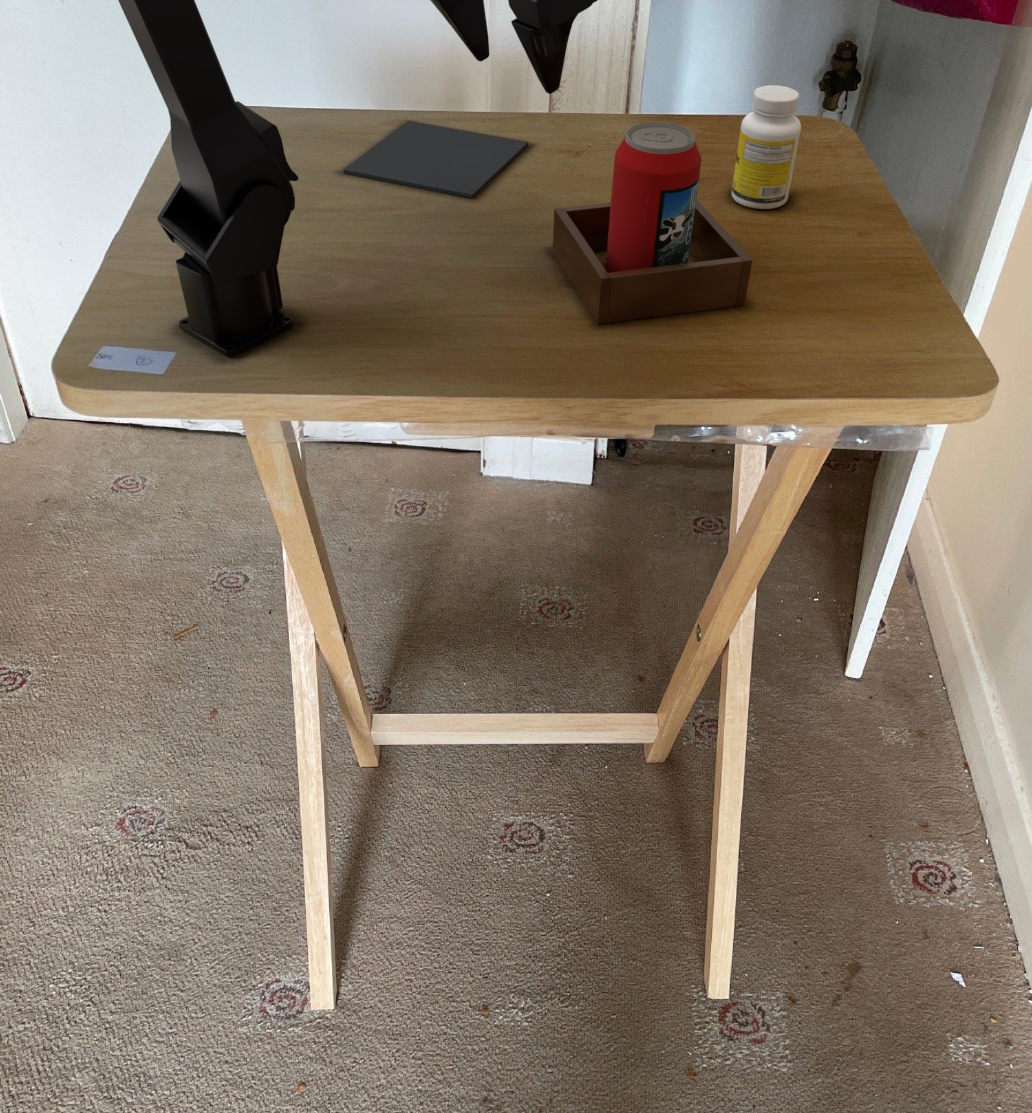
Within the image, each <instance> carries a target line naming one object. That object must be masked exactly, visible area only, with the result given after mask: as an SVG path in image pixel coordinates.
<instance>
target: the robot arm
mask: <svg viewBox="0 0 1032 1113" xmlns="http://www.w3.org/2000/svg"><path fill="white" fill-rule="evenodd" d="M117 1H118V3H119V6H120V8H121V10H122V12H123V14H124V17H125V18H126V21H127V23H128V25H129V27H130V29H131V33H132V34H133V37H134V39H135V40H136V42H137V45H138V47H139V49H140V51H141V53H142V55H143V58H144V60H145V62H146V64H147V67H148V69H149V71H150V73H151V75H152V77H153V79H154V83H155V84H156V87H157V88H158V90H159V91H158V92H159V93H160V95H161V97H162V99H163V101H164V104H165V106H166V108H167V112H168V115H169V120H170V121H169V122H170V144H171V145H170V146H171V152H172V156H173V159H174V162H175V166H176V170H177V174H178V177H179V181H178V183H177V185H176V186H175V187H174V189H173V191H172V193H171V195H170V196H169V197H168V199H167V201H166V203H165V204H164V206H163V208H162V209H161V211H160V212H159V214H158V216H157V217H156V218H157V220H156V221H157V223H158V224H159V226H160V227H161V229H162V230H163V232H164V233H165V235H166V236H167V238H168V239H169V240H170V241H171V242H172V243H173V244H175V245H177V246H178V247H179V248H180V249H181V250H183V251H184V253H183V256H181V258H180V257H179V258H178V259H176V260H175V265H176V270H177V273H178V278H179V282H180V283H179V284H180V286H181V291H182V295H183V299H184V304H185V308H186V314H187V316H186V317H184V318H183V319H181V320H179V321H178V326H179V329H180V330H182V331H183V332H185V333H186V334H188V335H190V336H192V337H194V338H195V339H197V340H199V341H200V342H202V343H203V344H206V345H207V346H209V347H211V348H212V349H214V350H216V351H218V352H219V353H221V354H222V355H224V356H227V357H232V356H235V355H237V354H239V353H242V352H243V351H245V350H247V349H249V348H251V347H253V346H255V345H257V344H260V343H261V342H264V341H265V340H267V339H269V338H271V337H273V336H275V335H277V334H280V333H281V332H283V331H285V330H287V329H289V328H291V327H293V326H294V324H295V323H294V322H295V321H294V318H293V316H291V315H288V314H287V313H285V312H283V311H281V310H282V309H283V308H284V302H283V296H282V290H281V284H280V277H279V276H280V275H279V271H278V264H279V260H280V253H281V250H282V249H281V247H282V244H283V237H284V232H285V226H286V225H287V223H288V222H289V220H290V217H291V214H292V212H294V210H295V208H296V197H295V192H294V187H293V185H292V183H291V182H297V181H298V180H299V176H298V175H297V173H295V171H294V170H293V169H292V167H291V166H290V165H289V162H288V161H287V157H286V154H285V149H284V143H283V140H282V135H281V133H280V131H279V129H278V126H277V125H275V124H274V123H272V122H271V121H270V120H268V119H267V118H265V117H264V116H262V115H260V114H258V113H257V112H256V111H255V110H253V109H252V108H250V107H248V106H247V105H245V104H244V103H242V102H240V101H239V100H235V98H234V95H233V92H232V90H231V87H230V85H229V83H228V80H227V77H226V75H225V72H224V70H223V68H222V66H221V63H220V60H219V58H218V55H217V53H216V50H215V47H214V45H213V43H212V40H211V38H210V36H209V33H208V30H207V28H206V25H205V23H204V20H203V18H202V16H201V13H200V11H199V8H198V5H197V3H196V1H195V0H117ZM429 1H430V2H431V3H432V5H433V6H434V7H435V8H436V9H437V10H438V12H439V13H440V14H441V16H443V18H444V19H445V21H446V22H447V23H448V24H449V26H450V27H451V28H452V29H453V31H454V32H455V33H456V35H457V36H458V37H459V39H460V40H461V41H462V43H463V44H464V45H465V47H466V48H467V49H468V51H469V52H470V53H471V54H472V56H473V57H474V58H475V60H476V61H477V62H481V63H482V62H484V61H485V60H486V59H488V58H489V57H490V42H489V41H490V40H489V31H488V24H487V15H486V8H485V1H484V0H429ZM507 1H508V6H509V8H510V10H511V11H512V13H513V14H514V16H515V18H514V19H512V20H511V21H510V23H511V25H512V28H513V30H514V32H515V33H516V36H517V38H518V40H519V42H520V44H521V46H522V48H523V50H524V52H525V54H526V56H527V58H528V60H529V62H530V64H531V66H532V68H533V71H534V73H535V76H536V77H537V79H538V81H539V82H540V84H541V86H542V88H543V90H544V91H545V93H546V94H548V95H551V94H553V93H554V92H556V91H558V90H559V89H560V87H561V82H562V77H563V71H564V64H565V59H566V53H567V48H568V43H569V39H570V34H571V32H572V28H573V24H574V22H575V20H576V18H577V17H578V16H579V14H580V13H582V12H584V11H586V10H588V9H589V8H590V7H591V6H592V5H593V4H594V3H596V2H598V1H599V0H507Z"/></svg>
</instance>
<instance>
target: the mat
mask: <svg viewBox="0 0 1032 1113" xmlns="http://www.w3.org/2000/svg"><path fill="white" fill-rule="evenodd" d="M528 146H529V141H526V140H520V139H514V138H510V137H509V138H508V137H503V136H497V135H492V134H486V133H482V132H481V133H480V132H475V131H469V130H463V129H458V128H452V127H447V126H443V125H442V126H441V125H436V124H432V123H431V124H430V123H425V122H420V121H414V120H407V121H405V122H404V123H403V124H401V126H399V127H398V128H396V129H395V130H394V131H392V132H391V133H390V134H388V135H387V136H386V137H384V138H382V140H380V141H379V142H378V143H377V144H375V145H373V146H372V147H371V148H369V149H368V150H367V151H366V152H364V153H363V154H362V155H360V156H359V157H357V159H355V160H353V161H352V162H351V163H350V164H348V165H347V166H346V167H345V168H343V169H342V170H343V171H342V172H343V174H345V175H352V176H357V177H362V178H367V179H372V180H377V181H382V182H387V183H392V184H398V185H403V186H407V187H413V188H417V189H423V190H428V191H433V192H437V193H441V194H442V193H443V194H447V195H453V196H457V197H462V198H469V199H474V198H475V197H476V196H477V195H478V194H479V193H480V192H481V191H482V190H483V189H484V188H486V186H488V184H490V183H491V182H492V181H493V180H494V179H495V178H496V177H497V176H498V175H499V174H500V173H501V172H502V171H503V170H504V169H505V168H506V167H507V166H508V165H509V164H510V163H512V162H513V161H514V160H515V159H516V158H517V157H518V156H519V155H521V153H522V152H523V151H524V150H526V149H527V147H528Z"/></svg>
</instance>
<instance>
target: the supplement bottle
mask: <svg viewBox="0 0 1032 1113" xmlns="http://www.w3.org/2000/svg"><path fill="white" fill-rule="evenodd" d="M752 96H753V97H752V100H751V109H752V111H751V112H749V113H748V114H746V115H745V116H744V118H743V119H742V121H741V124H740V129H739V135H738V136H739V138H738V143H737V144H738V145H737V151H736V157H735V164H734V171H733V179H732V184H731V185H732V186H731V197H732V199H733V200H734V201H735V203H737V204H739V205H741V206H744V207H747V208H749V209H750V208H751V209H755V210H756V209H757V210H772V209H777V208H779V207H781V206H783V205H785V204H786V203H787V201H788V199H789V196H790V191H791V186H792V182H793V181H792V180H793V175H794V170H795V165H796V159H797V153H798V149H799V142H800V137H801V132H802V125H801V124H802V123H801V121H800V119H799V118H798V117H797V116H796V115H795V113H797V108H798V105H799V98H800V97H799V96H800V94H799V92H798V91H797V90H796V89H793V88H791V87H788V86H784V85H776V84H775V85H774V84H773V85H771V84H770V85H763V86H759V87H757V88H756V89H755V90H754V91H753V94H752Z"/></svg>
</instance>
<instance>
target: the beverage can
mask: <svg viewBox="0 0 1032 1113" xmlns="http://www.w3.org/2000/svg"><path fill="white" fill-rule="evenodd" d="M701 166H702V156H701V153H700V151H699V147H698V145H697V143H696V135H695V133H694V132H693V131H692V130H691V129H690V128H689V127H686V126H683V125H680V124H678V123H674V122H666V121H647V122H646V121H645V122H641V123H636V124H634V125H631V126H630V127H628V128H627V130H626V131H625V135H624V137H623V139H622V140H621V141H620V143H619V145H618V147H617V148H616V150H615V153H614V160H613V172H612V182H611V197H610V202H611V206H610V219H609V233H608V247H607V250H606V263H605V264H606V265H605V267H606V268H605V269H606V271H607V272H608V273H612V272H620V271H628V270H636V269H644V268H652V267H661V266H669V265H677V264H685V263H689V254H690V250H689V248H690V242H691V235H692V227H693V220H694V213H695V206H696V199H697V198H698V191H699V183H700V175H701ZM697 200H698V199H697Z"/></svg>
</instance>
